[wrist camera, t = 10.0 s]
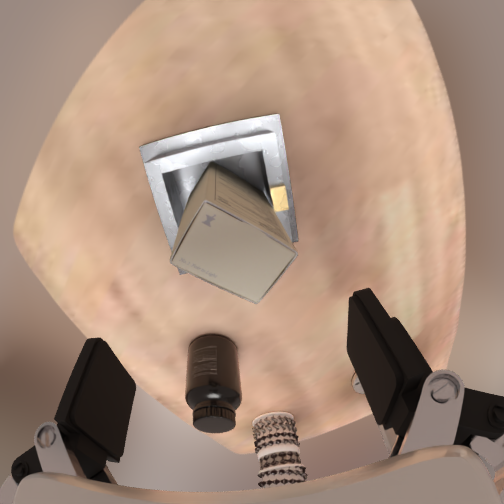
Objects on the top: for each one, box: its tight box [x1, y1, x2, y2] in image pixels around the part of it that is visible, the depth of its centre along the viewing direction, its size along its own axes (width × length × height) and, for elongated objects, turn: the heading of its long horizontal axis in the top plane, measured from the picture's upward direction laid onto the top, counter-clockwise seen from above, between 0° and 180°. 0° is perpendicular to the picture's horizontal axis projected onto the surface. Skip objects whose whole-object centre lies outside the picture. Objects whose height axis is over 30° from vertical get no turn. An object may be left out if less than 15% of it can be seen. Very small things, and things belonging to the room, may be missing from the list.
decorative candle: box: [252, 411, 307, 488], centre depth 38 cm, size 9×9×25 cm
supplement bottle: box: [185, 335, 242, 433], centre depth 32 cm, size 7×7×12 cm
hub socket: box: [139, 114, 298, 275], centre depth 24 cm, size 13×13×6 cm
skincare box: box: [170, 161, 298, 304], centre depth 21 cm, size 6×4×12 cm
